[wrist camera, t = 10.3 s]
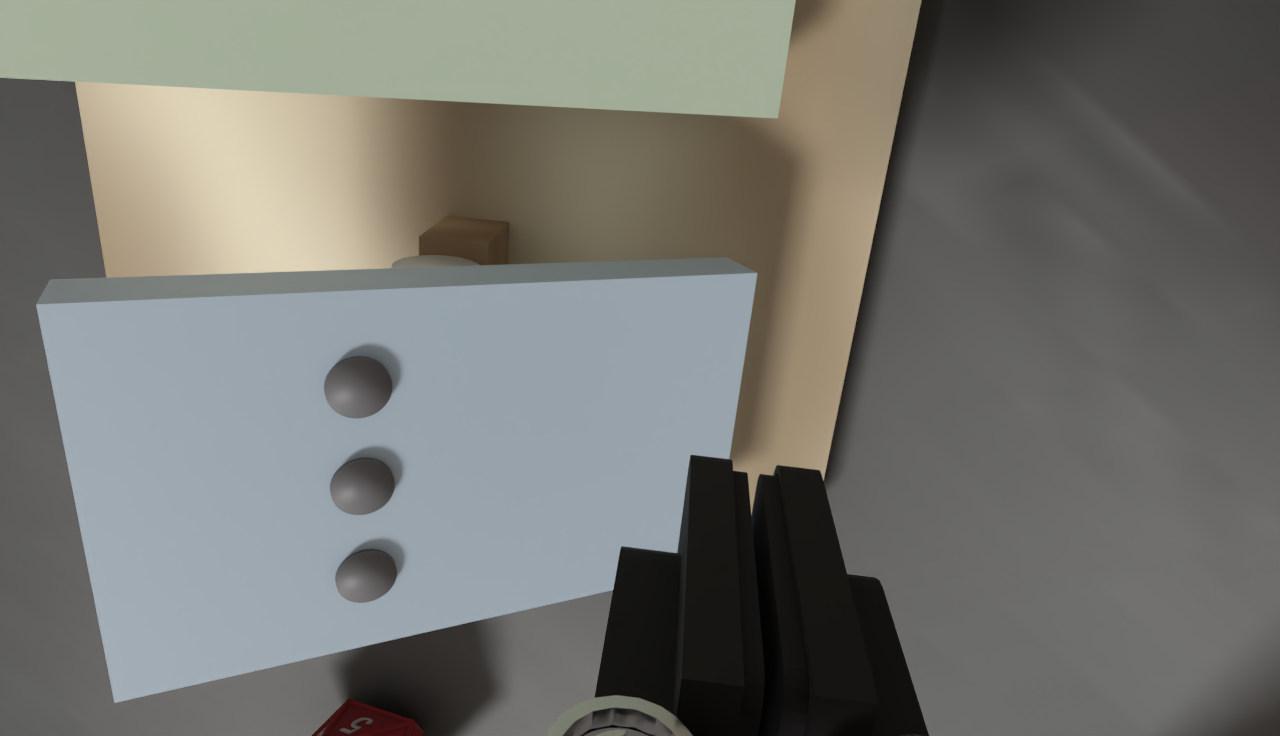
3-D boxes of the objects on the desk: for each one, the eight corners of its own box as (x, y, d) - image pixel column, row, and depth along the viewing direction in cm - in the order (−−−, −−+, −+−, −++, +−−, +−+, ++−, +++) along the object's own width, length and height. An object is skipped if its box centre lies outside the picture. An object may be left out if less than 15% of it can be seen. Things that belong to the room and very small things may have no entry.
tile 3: (689, 237, 16) (761, 275, 14) (657, 504, 18) (716, 570, 16) (66, 250, 11) (34, 307, 9) (128, 600, 14) (113, 709, 12)
